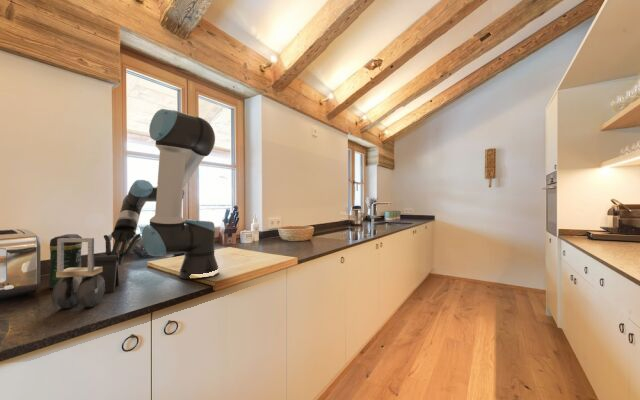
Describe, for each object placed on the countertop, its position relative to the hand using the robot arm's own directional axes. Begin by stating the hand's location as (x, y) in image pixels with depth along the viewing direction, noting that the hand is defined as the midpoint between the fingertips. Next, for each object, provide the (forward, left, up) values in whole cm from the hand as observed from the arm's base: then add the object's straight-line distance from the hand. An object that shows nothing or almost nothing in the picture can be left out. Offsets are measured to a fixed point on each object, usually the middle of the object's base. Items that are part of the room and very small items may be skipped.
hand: (112, 271), depth 102 cm
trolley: (-2, +22, -5) cm, 23 cm away
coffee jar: (+16, -1, -5) cm, 16 cm away
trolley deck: (-2, +22, +5) cm, 23 cm away
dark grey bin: (-1, +7, -5) cm, 8 cm away
